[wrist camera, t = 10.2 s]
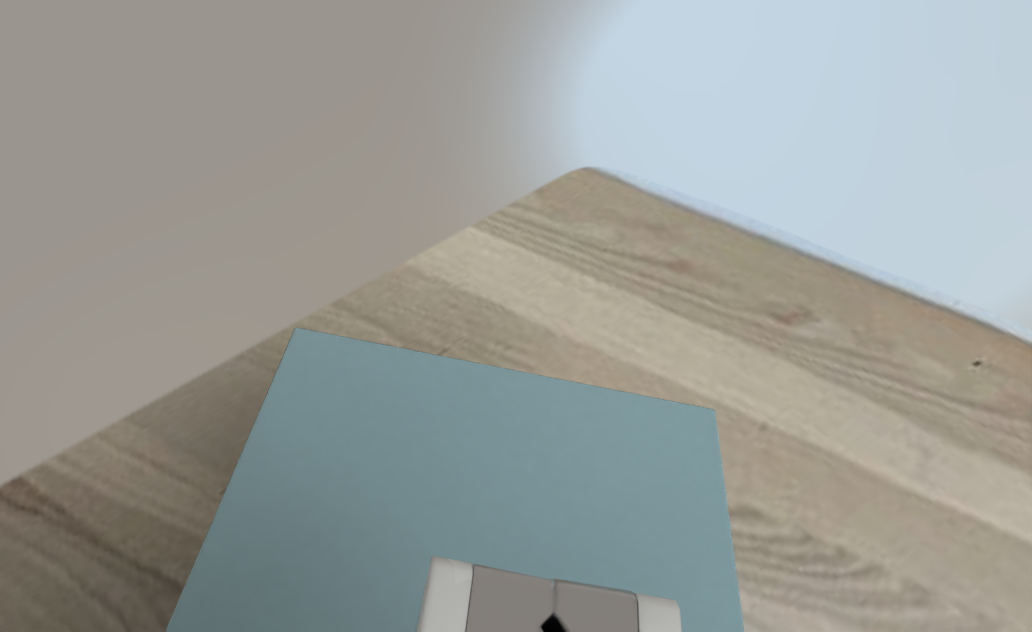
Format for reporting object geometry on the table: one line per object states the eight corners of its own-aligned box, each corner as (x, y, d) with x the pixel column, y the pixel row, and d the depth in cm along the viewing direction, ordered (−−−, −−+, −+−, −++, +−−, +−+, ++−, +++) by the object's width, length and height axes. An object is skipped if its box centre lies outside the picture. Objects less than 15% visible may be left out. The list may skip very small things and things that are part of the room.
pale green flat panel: (293, 347, 28) (294, 326, 27) (707, 427, 28) (715, 408, 28) (46, 936, 15) (40, 917, 15) (781, 1052, 16) (799, 1038, 16)
